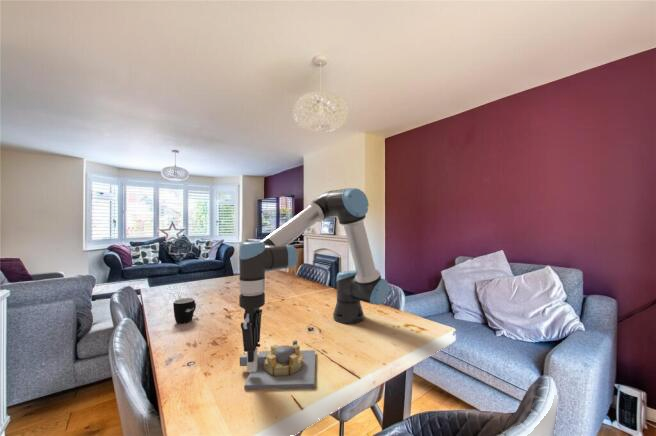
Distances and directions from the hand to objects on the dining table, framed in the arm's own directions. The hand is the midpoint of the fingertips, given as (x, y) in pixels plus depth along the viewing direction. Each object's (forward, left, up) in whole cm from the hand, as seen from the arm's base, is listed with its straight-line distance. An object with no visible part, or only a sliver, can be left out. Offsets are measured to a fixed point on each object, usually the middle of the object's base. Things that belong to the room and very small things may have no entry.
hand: (252, 370), depth 81 cm
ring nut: (-5, -5, -1) cm, 7 cm away
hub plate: (-9, -5, -3) cm, 11 cm away
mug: (+44, -50, -3) cm, 67 cm away
